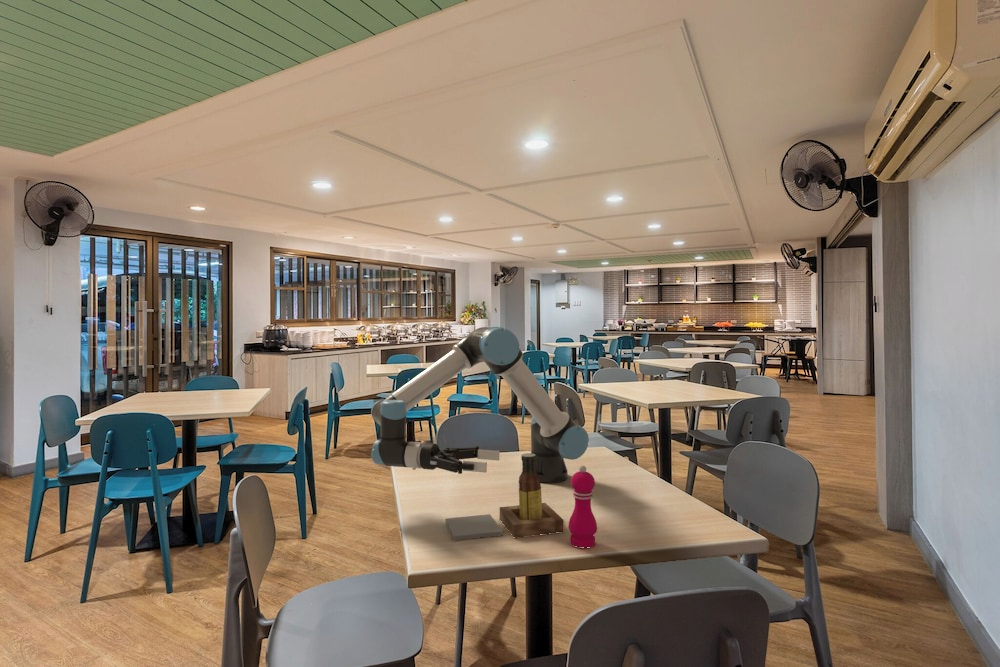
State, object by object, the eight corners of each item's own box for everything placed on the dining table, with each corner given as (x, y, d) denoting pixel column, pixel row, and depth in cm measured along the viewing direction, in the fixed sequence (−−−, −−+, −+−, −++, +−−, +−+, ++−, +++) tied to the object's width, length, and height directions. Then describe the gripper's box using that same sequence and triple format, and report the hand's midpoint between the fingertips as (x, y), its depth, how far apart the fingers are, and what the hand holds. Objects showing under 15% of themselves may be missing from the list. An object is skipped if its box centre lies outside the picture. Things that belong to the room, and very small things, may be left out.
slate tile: (489, 518, 152) (489, 514, 152) (501, 535, 139) (501, 531, 139) (445, 522, 148) (445, 518, 148) (453, 540, 136) (453, 536, 136)
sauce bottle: (544, 523, 148) (544, 453, 148) (538, 531, 142) (539, 458, 142) (522, 520, 150) (522, 451, 150) (515, 528, 144) (515, 456, 144)
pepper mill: (596, 550, 130) (597, 470, 130) (567, 548, 131) (567, 468, 131) (597, 539, 137) (597, 462, 137) (569, 537, 138) (569, 461, 138)
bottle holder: (545, 514, 155) (545, 502, 155) (563, 532, 141) (563, 519, 141) (499, 519, 151) (499, 507, 151) (513, 538, 138) (513, 524, 138)
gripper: (438, 458, 166) (503, 463, 161) (405, 480, 142) (480, 487, 137) (439, 434, 166) (504, 439, 161) (405, 452, 142) (480, 458, 137)
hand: (493, 461), depth 149 cm, fingers open, 13 cm apart
